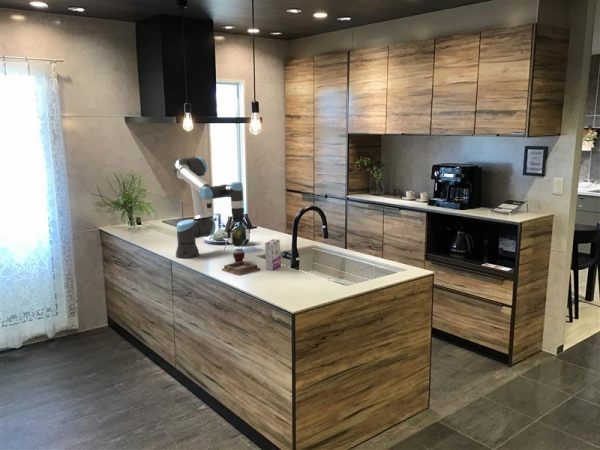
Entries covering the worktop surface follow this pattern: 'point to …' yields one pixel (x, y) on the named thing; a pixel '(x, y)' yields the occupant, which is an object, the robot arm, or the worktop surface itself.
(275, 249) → the candy bar box
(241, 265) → the holder board
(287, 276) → the worktop surface
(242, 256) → the mate gourd
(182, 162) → the robot arm
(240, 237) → the squash
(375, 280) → the worktop surface
